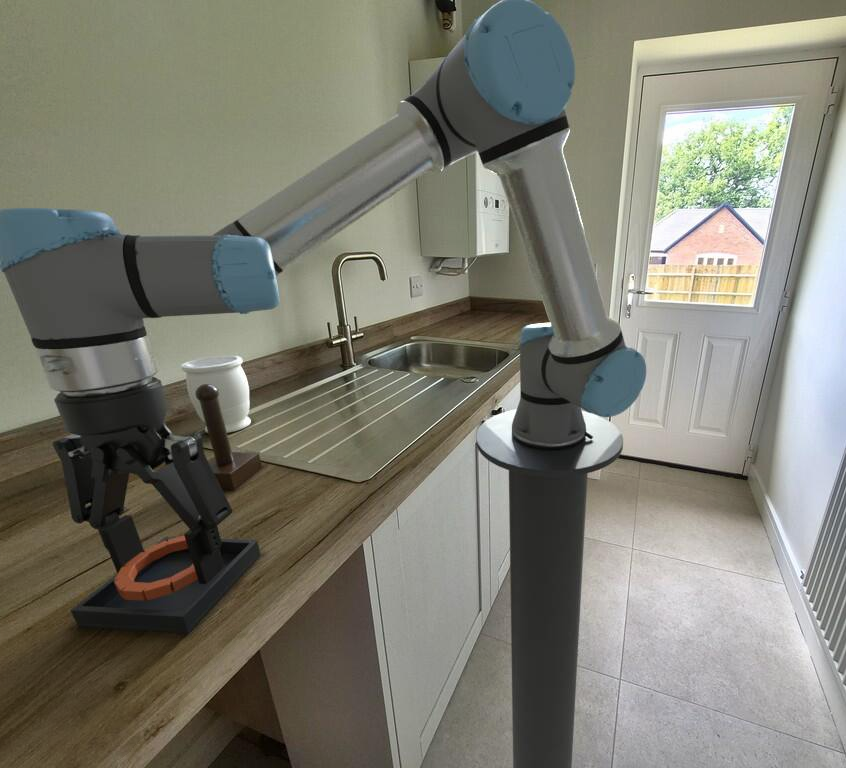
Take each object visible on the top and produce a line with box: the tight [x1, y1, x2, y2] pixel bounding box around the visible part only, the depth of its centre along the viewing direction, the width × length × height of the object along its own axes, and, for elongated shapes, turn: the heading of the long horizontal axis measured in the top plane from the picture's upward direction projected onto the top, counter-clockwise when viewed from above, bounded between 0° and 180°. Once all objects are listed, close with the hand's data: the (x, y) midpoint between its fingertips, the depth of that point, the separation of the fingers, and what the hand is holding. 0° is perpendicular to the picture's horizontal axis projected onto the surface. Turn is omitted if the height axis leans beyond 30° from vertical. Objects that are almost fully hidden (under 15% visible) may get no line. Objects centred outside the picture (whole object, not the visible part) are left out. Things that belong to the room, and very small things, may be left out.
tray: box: [70, 536, 261, 635], centre depth 47 cm, size 12×11×2 cm
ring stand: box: [195, 384, 263, 491], centre depth 67 cm, size 7×7×17 cm
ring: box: [114, 535, 198, 601], centre depth 46 cm, size 9×9×1 cm
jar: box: [180, 355, 252, 434], centre depth 87 cm, size 11×10×15 cm
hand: (173, 572), depth 46 cm, fingers closed on ring, 9 cm apart
